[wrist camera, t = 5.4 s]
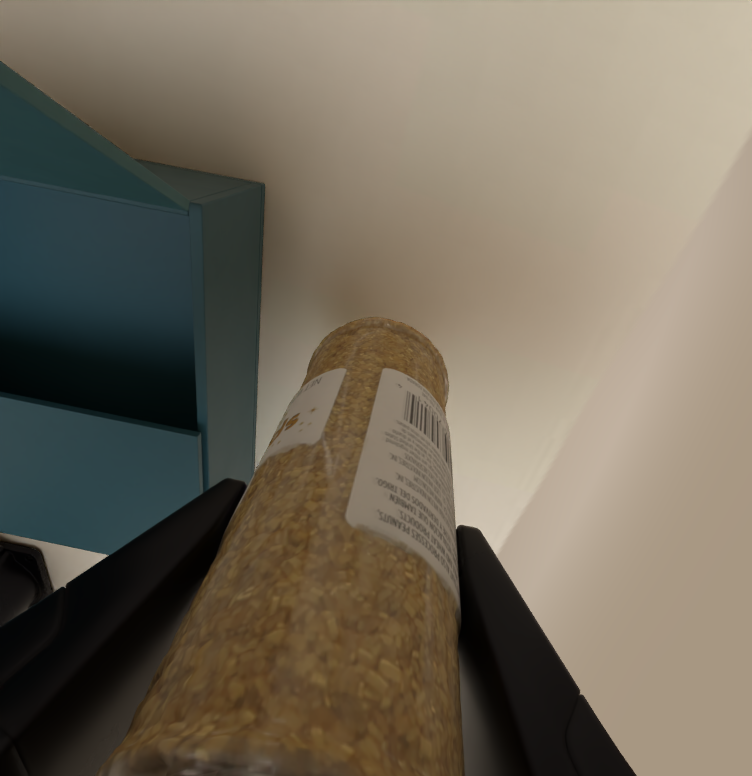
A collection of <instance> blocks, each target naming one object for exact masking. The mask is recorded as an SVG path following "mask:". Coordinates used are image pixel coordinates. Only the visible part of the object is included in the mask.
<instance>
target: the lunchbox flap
mask: <svg viewBox="0 0 752 776" xmlns="http://www.w3.org/2000/svg"><path fill="white" fill-rule="evenodd" d="M0 175H2V176H8V177H13V178H18V179H23V180H28V181H33V182H39V183H44V184H49V185H54V186H59V187H64V188H70V189H75V190H80V191H85V192H90V193H95V194H100V195H106V196H111V197H116V198H121V199H126V200H131V201H137V202H142V203H147V204H152V205H157V206H162V207H168V208H173V209H178V210H183V211H188V209H189V203H190V200H188V199H187V198H186V197H184V196H183V195H182V194H180V193H179V192H178V191H176V190H175V189H174V188H172V187H171V186H169V185H168V184H167V183H165V182H164V181H163V180H161V179H160V178H159V177H157V176H156V175H155V174H153V173H152V172H150V171H149V170H148V169H146V168H145V167H144V166H142V165H141V164H140V163H138V162H137V161H136V160H134V159H133V158H131V157H130V156H129V155H127V154H126V153H125V152H123V151H122V150H121V149H119V148H118V147H117V146H115V145H114V144H112V143H111V142H110V141H108V140H107V139H106V138H104V137H103V136H102V135H100V134H99V133H97V132H96V131H95V130H93V129H92V128H91V127H89V126H88V125H87V124H85V123H84V122H83V121H81V120H80V119H78V118H77V117H76V116H74V115H73V114H72V113H70V112H69V111H68V110H66V109H65V108H64V107H62V106H61V105H59V104H58V103H57V102H55V101H54V100H53V99H51V98H50V97H49V96H47V95H46V94H45V93H43V92H42V91H40V90H39V89H38V88H36V87H35V86H34V85H32V84H31V83H30V82H28V81H27V80H26V79H24V78H23V77H21V76H20V75H19V74H17V73H16V72H15V71H13V70H12V69H11V68H9V67H8V66H7V65H5V64H4V63H2V62H1V61H0Z"/></svg>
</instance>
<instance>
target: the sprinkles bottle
mask: <svg viewBox="0 0 752 776" xmlns="http://www.w3.org/2000/svg"><path fill="white" fill-rule="evenodd" d="M448 391H449V382H448V374H447V370H446V367H445V365H444V361H443V358H442V356H441V354H440V353H439V351H438V350H437V349H436V348H435V347H434V345H433V344H432V343H431V341H430V340H429V339H428V338H426V337H425V336H424V335H423V334H422V333H420V332H418V331H417V330H415V329H414V328H412V327H410V326H408V325H406V324H404V323H402V322H396V321H393V320H390V319H384V318H379V317H371V318H365V319H359V320H356V321H352V322H349V323H347V324H346V325H344V326H342V327H339V328H338V329H336V330H335V331H333V332H331V333H330V334H329V335H327V336H326V337H325V338H324V339H323V340H322V342H321V343H320V344H319V346H318V347H317V349H316V350H315V351H314V353H313V356H312V358H311V360H310V363H309V366H308V370H307V375H306V378H305V380H304V382H303V384H302V386H301V389H300V390H299V391H298V393H297V394H296V395H295V396H294V398H293V399H292V401H291V402H290V404H289V406H288V408H287V410H286V412H285V414H284V416H283V418H282V420H281V422H280V424H279V426H278V428H277V430H276V432H275V434H274V436H273V438H272V440H271V442H270V444H269V446H268V448H267V450H266V452H265V453H264V455H263V457H262V459H261V461H260V463H259V465H258V467H257V469H256V471H255V473H254V475H253V477H252V479H251V481H250V483H249V485H248V487H247V489H246V491H245V493H244V495H243V496H242V498H241V500H240V502H239V504H238V506H237V508H236V510H235V512H234V514H233V516H232V518H231V520H230V522H229V524H228V526H227V528H226V530H225V532H224V535H223V537H222V540H221V543H220V546H219V548H218V551H217V555H216V557H215V560H214V561H213V563H212V564H211V566H210V569H209V571H208V573H207V575H206V577H205V579H204V580H203V582H202V584H201V586H200V588H199V590H198V592H197V594H196V595H195V597H194V599H193V601H192V603H191V606H190V609H189V611H188V612H187V614H186V615H185V617H184V618H183V620H182V622H181V625H180V627H179V629H178V631H177V633H176V635H175V637H174V639H173V642H172V644H171V646H170V649H169V651H168V653H167V654H166V656H165V657H164V658H163V660H162V662H161V664H160V666H159V667H158V669H157V671H156V673H155V675H154V677H153V679H152V681H151V683H150V686H149V688H148V691H147V693H146V696H145V698H144V700H143V701H142V702H141V703H140V704H139V705H138V707H137V710H136V712H135V715H134V717H133V720H132V722H131V725H130V727H129V729H128V732H127V734H126V736H125V738H124V740H123V741H122V743H121V745H120V746H118V747H117V748H116V749H115V750H114V751H113V753H112V754H111V755H110V757H109V758H108V759H107V761H106V762H105V763H104V764H103V765H102V766H101V767H100V768H99V770H98V772H97V774H96V776H465V770H464V749H463V737H462V713H461V702H460V675H459V670H460V666H459V654H458V637H459V634H460V630H461V621H462V620H461V604H460V589H459V573H458V557H457V541H456V525H455V509H454V493H453V476H452V461H451V445H450V433H449V427H448V423H447V420H446V412H445V407H446V403H447V399H448Z"/></svg>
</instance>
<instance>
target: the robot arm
mask: <svg viewBox="0 0 752 776" xmlns="http://www.w3.org/2000/svg"><path fill="white" fill-rule="evenodd" d="M246 489H247V485H246V483H245V482H244V481H242V480H237V479H232V478H226V479H223V480H222V481H220V482H219V483H217V484H216V485H214V486H213V487H211V488H210V489H208V490H207V491H205V492H204V493H202V494H201V495H199V496H198V497H196V498H195V499H193V500H192V501H190V502H189V503H187V504H186V505H184V506H183V507H181V508H180V509H178V510H177V511H175V512H174V513H172V514H171V515H169V516H168V517H166V518H165V519H163V520H162V521H160V522H159V523H157V524H156V525H154V526H153V527H151V528H150V529H148V530H147V531H145V532H144V533H142V534H141V535H139V536H138V537H136V538H135V539H133V540H132V541H130V542H129V543H127V544H126V545H124V546H123V547H121V548H120V549H118V550H117V551H115V552H114V553H112V554H111V555H109V556H108V557H106V558H105V559H103V560H102V561H100V562H99V563H97V564H96V565H94V566H93V567H91V568H90V569H88V570H87V571H85V572H84V573H82V574H81V575H79V576H78V577H76V578H75V579H73V580H72V581H70V582H69V583H67V584H66V588H65V587H61V588H59V589H58V590H56V591H55V592H52V589H51V586H50V582H49V579H48V576H47V572H46V569H45V566H44V562H43V559H42V556H41V554H40V553H39V552H38V551H37V550H35V549H32V548H27V547H22V546H18V545H13V544H8V543H3V542H0V776H96V774H97V772H98V770H99V768H100V767H101V766H102V765H103V764H104V763H105V762H106V761H107V759H108V758H109V757H110V755H111V754H112V753H113V751H114V750H115V749H116V748H117V747H118V746H120V745H121V743H122V741H123V740H124V738H125V736H126V734H127V732H128V729H129V727H130V725H131V722H132V720H133V717H134V715H135V712H136V710H137V707H138V705H139V704H140V703H141V702H142V701H143V700H144V698H145V696H146V693H147V691H148V688H149V686H150V683H151V681H152V679H153V677H154V675H155V673H156V671H157V669H158V667H159V666H160V664H161V662H162V660H163V658H164V657H165V656H166V654H167V653H168V651H169V649H170V646H171V644H172V642H173V639H174V637H175V635H176V633H177V631H178V629H179V627H180V625H181V622H182V620H183V618H184V617H185V615H186V614H187V612H188V611H189V609H190V606H191V603H192V601H193V599H194V597H195V595H196V594H197V592H198V590H199V588H200V586H201V584H202V582H203V580H204V579H205V577H206V575H207V573H208V571H209V569H210V566H211V564H212V563H213V561H214V560H215V557H216V555H217V551H218V548H219V546H220V543H221V540H222V537H223V535H224V532H225V530H226V528H227V526H228V524H229V522H230V520H231V518H232V516H233V514H234V512H235V510H236V508H237V506H238V504H239V502H240V500H241V498H242V496H243V495H244V493H245V491H246ZM456 541H457V557H458V573H459V589H460V604H461V620H462V621H461V630H460V634H459V637H458V654H459V666H460V670H459V675H460V702H461V713H462V737H463V749H464V770H465V776H636V774H635V773H634V771H633V770H632V768H631V767H630V766H629V764H628V763H627V762H626V760H625V759H624V757H623V756H622V754H621V753H620V751H619V750H618V748H617V747H616V746H615V744H614V742H613V741H612V739H611V738H610V736H609V735H608V733H607V732H606V730H605V729H604V727H603V726H602V724H601V722H600V721H599V719H598V718H597V716H596V715H595V713H594V711H593V710H592V708H591V707H590V705H589V704H588V702H587V700H586V699H585V697H584V696H583V695H579V694H580V690H579V688H578V686H577V685H576V683H575V681H574V680H573V678H572V677H571V675H570V673H569V672H568V670H567V669H566V667H565V665H564V664H563V662H562V661H561V659H560V657H559V656H558V654H557V653H556V651H555V649H554V648H553V646H552V645H551V643H550V642H549V640H548V638H547V637H546V635H545V633H544V632H543V630H542V629H541V627H540V625H539V624H538V622H537V621H536V619H535V617H534V616H533V614H532V613H531V611H530V610H529V608H528V606H527V605H526V603H525V601H524V600H523V598H522V597H521V595H520V594H519V592H518V590H517V589H516V587H515V586H514V584H513V582H512V581H511V579H510V577H509V576H508V574H507V573H506V571H505V570H504V568H503V566H502V565H501V563H500V561H499V560H498V558H497V557H496V555H495V553H494V552H493V550H492V549H491V547H490V545H489V544H488V542H487V541H486V539H485V537H484V536H483V534H482V533H481V531H480V530H479V529H478V528H474V527H470V526H465V525H460V526H458V527H457V529H456Z"/></svg>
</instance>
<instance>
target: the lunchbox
mask: <svg viewBox="0 0 752 776" xmlns="http://www.w3.org/2000/svg"><path fill="white" fill-rule="evenodd" d="M134 160H136V161H137V162H138V163H140V164H141V165H142V166H144V167H145V168H146V169H148V170H149V171H150V172H152V173H153V174H155V175H156V176H157V177H159V178H160V179H161V180H163V181H164V182H165V183H167V184H168V185H169V186H171V187H172V188H174V189H175V190H176V191H178V192H179V193H180V194H182V195H183V196H184V197H186V198H187V199H188V200H190V203H189V209H188V211H183V210H178V209H173V208H168V207H162V206H157V205H152V204H147V203H142V202H137V201H131V200H126V199H121V198H116V197H111V196H106V195H100V194H95V193H90V192H85V191H80V190H75V189H70V188H64V187H59V186H54V185H49V184H44V183H39V182H33V181H28V180H23V179H18V178H13V177H8V176H2V175H0V532H2V533H6V534H11V535H16V536H21V537H25V538H30V539H35V540H40V541H45V542H49V543H54V544H59V545H64V546H68V547H73V548H78V549H83V550H87V551H92V552H97V553H102V554H106V555H111V554H112V553H114V552H115V551H117V550H118V549H120V548H121V547H123V546H124V545H126V544H127V543H129V542H130V541H132V540H133V539H135V538H136V537H138V536H139V535H141V534H142V533H144V532H145V531H147V530H148V529H150V528H151V527H153V526H154V525H156V524H157V523H159V522H160V521H162V520H163V519H165V518H166V517H168V516H169V515H171V514H172V513H174V512H175V511H177V510H178V509H180V508H181V507H183V506H184V505H186V504H187V503H189V502H190V501H192V500H193V499H195V498H196V497H198V496H199V495H201V494H202V493H204V492H205V491H207V490H208V489H210V488H211V487H213V486H214V485H216V484H217V483H219V482H220V481H222V480H223V479H226V478H232V479H237V480H242V481H244V482H245V483H246V485H247V487H248V485H249V483H250V481H251V479H252V477H253V475H254V463H255V436H256V410H257V383H258V357H259V330H260V303H261V277H262V250H263V224H264V197H265V184H264V183H258V182H253V181H248V180H243V179H238V178H232V177H227V176H222V175H217V174H211V173H206V172H201V171H196V170H191V169H185V168H180V167H175V166H170V165H165V164H159V163H154V162H149V161H144V160H139V159H134Z"/></svg>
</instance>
